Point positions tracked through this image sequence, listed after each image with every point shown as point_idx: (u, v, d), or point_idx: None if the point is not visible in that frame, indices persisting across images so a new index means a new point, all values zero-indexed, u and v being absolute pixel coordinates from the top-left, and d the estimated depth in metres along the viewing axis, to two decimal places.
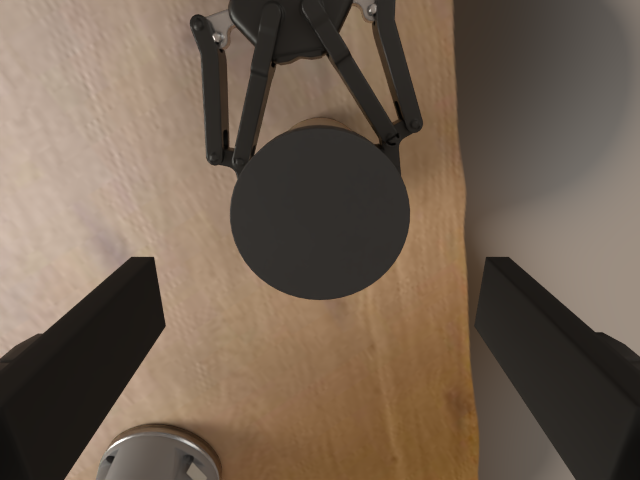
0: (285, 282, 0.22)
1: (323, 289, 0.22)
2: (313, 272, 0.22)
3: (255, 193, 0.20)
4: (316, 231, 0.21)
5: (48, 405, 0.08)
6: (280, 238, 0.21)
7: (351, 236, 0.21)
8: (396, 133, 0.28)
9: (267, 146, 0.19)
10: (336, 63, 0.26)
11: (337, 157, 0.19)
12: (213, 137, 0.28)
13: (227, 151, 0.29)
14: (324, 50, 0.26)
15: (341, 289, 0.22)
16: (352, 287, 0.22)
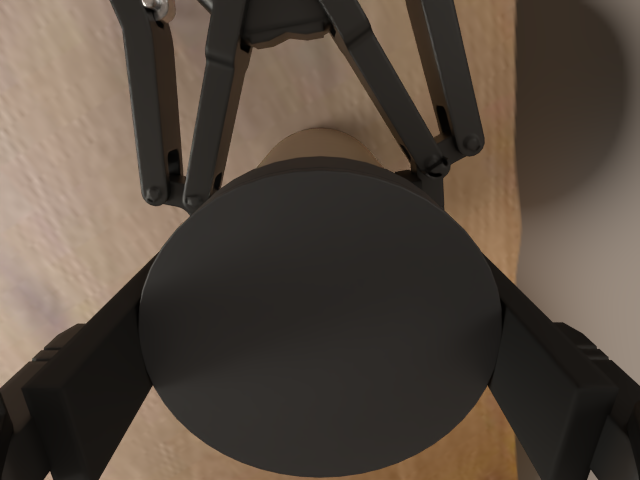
0: (254, 451, 0.12)
1: (326, 462, 0.12)
2: (307, 435, 0.11)
3: (187, 300, 0.10)
4: (313, 367, 0.10)
5: (97, 389, 0.08)
6: (242, 379, 0.11)
7: (382, 376, 0.11)
8: (441, 157, 0.17)
9: (206, 208, 0.09)
10: (347, 43, 0.15)
11: (357, 231, 0.09)
12: (151, 163, 0.17)
13: (175, 184, 0.18)
14: (327, 22, 0.16)
15: (360, 462, 0.12)
16: (381, 458, 0.12)
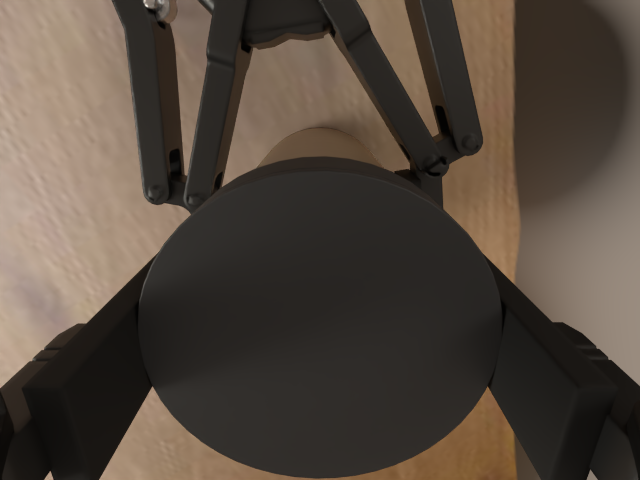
0: (477, 334, 0.10)
1: (453, 263, 0.09)
2: (426, 302, 0.10)
3: (344, 450, 0.11)
4: (341, 345, 0.10)
5: (97, 389, 0.08)
6: (393, 386, 0.11)
7: (308, 287, 0.10)
8: (440, 156, 0.18)
9: (266, 469, 0.12)
10: (347, 44, 0.16)
11: (202, 388, 0.11)
12: (152, 162, 0.18)
13: (177, 183, 0.19)
14: (327, 23, 0.16)
15: (431, 230, 0.09)
16: (413, 212, 0.09)
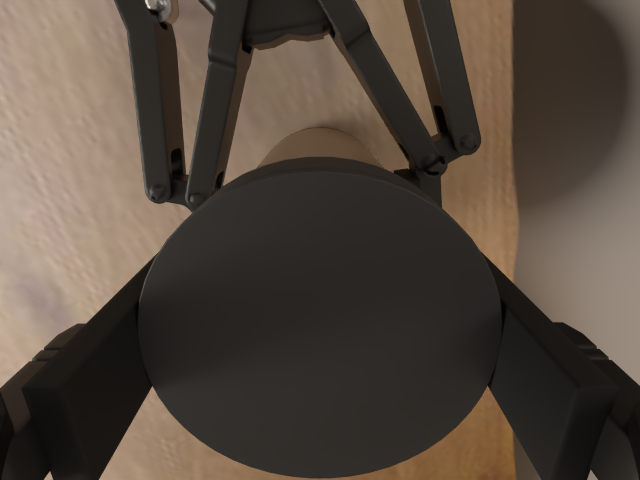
0: (200, 246, 0.09)
1: (165, 315, 0.10)
2: (211, 308, 0.10)
3: (424, 258, 0.09)
4: (301, 339, 0.10)
5: (97, 389, 0.08)
6: (309, 271, 0.09)
7: (270, 390, 0.11)
8: (439, 156, 0.18)
9: (498, 310, 0.10)
10: (347, 44, 0.16)
11: (423, 407, 0.11)
12: (154, 161, 0.18)
13: (178, 182, 0.19)
14: (327, 24, 0.16)
15: (158, 347, 0.10)
16: (158, 366, 0.10)
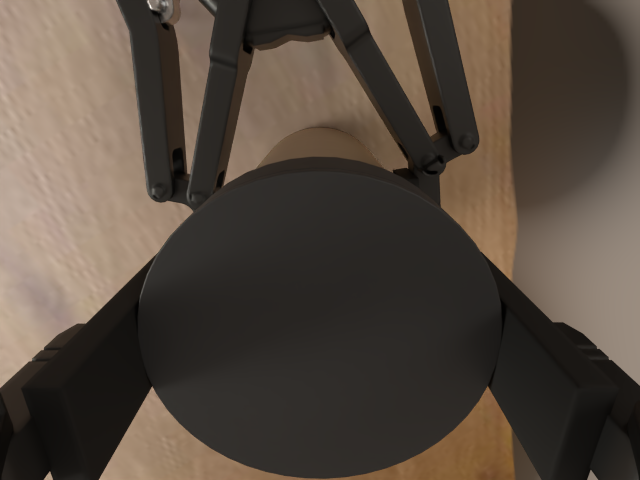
0: (293, 462, 0.12)
1: (366, 457, 0.12)
2: (338, 435, 0.11)
3: (179, 336, 0.10)
4: (319, 369, 0.10)
5: (97, 389, 0.08)
6: (257, 397, 0.11)
7: (390, 361, 0.10)
8: (437, 155, 0.18)
9: (166, 247, 0.09)
10: (346, 45, 0.16)
11: (312, 227, 0.09)
12: (156, 161, 0.18)
13: (180, 181, 0.19)
14: (327, 25, 0.16)
15: (399, 449, 0.11)
16: (419, 442, 0.11)
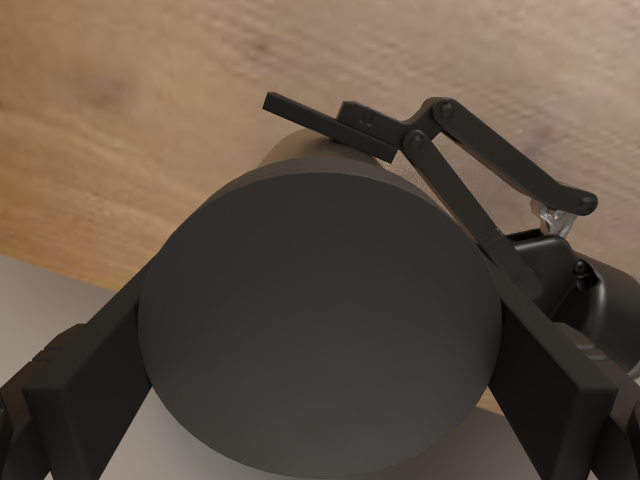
0: (293, 462, 0.12)
1: (366, 457, 0.12)
2: (338, 435, 0.11)
3: (180, 336, 0.10)
4: (319, 369, 0.10)
5: (97, 389, 0.08)
6: (256, 397, 0.11)
7: (389, 361, 0.10)
8: None
9: (166, 247, 0.09)
10: None
11: (313, 227, 0.09)
12: (469, 130, 0.18)
13: (437, 132, 0.18)
14: None
15: (399, 450, 0.11)
16: (419, 442, 0.11)
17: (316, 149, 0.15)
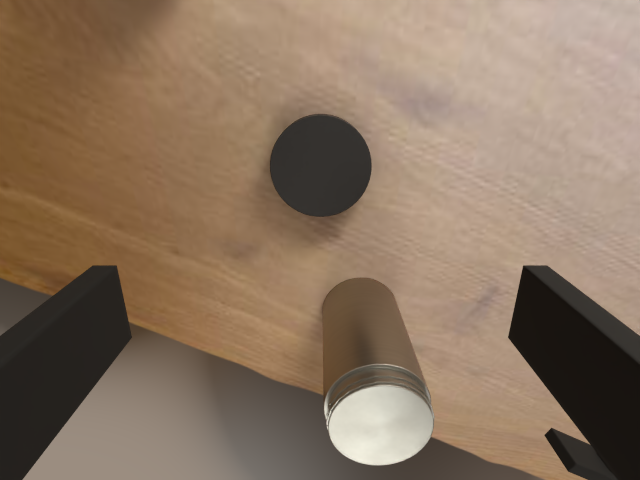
0: (312, 209, 0.38)
1: (335, 207, 0.38)
2: (326, 199, 0.37)
3: (282, 163, 0.36)
4: (320, 174, 0.37)
5: None
6: (302, 184, 0.37)
7: (340, 171, 0.36)
8: None
9: (281, 136, 0.35)
10: None
11: (319, 130, 0.35)
12: None
13: None
14: None
15: (345, 204, 0.38)
16: (350, 201, 0.38)
17: (375, 333, 0.33)
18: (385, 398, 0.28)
